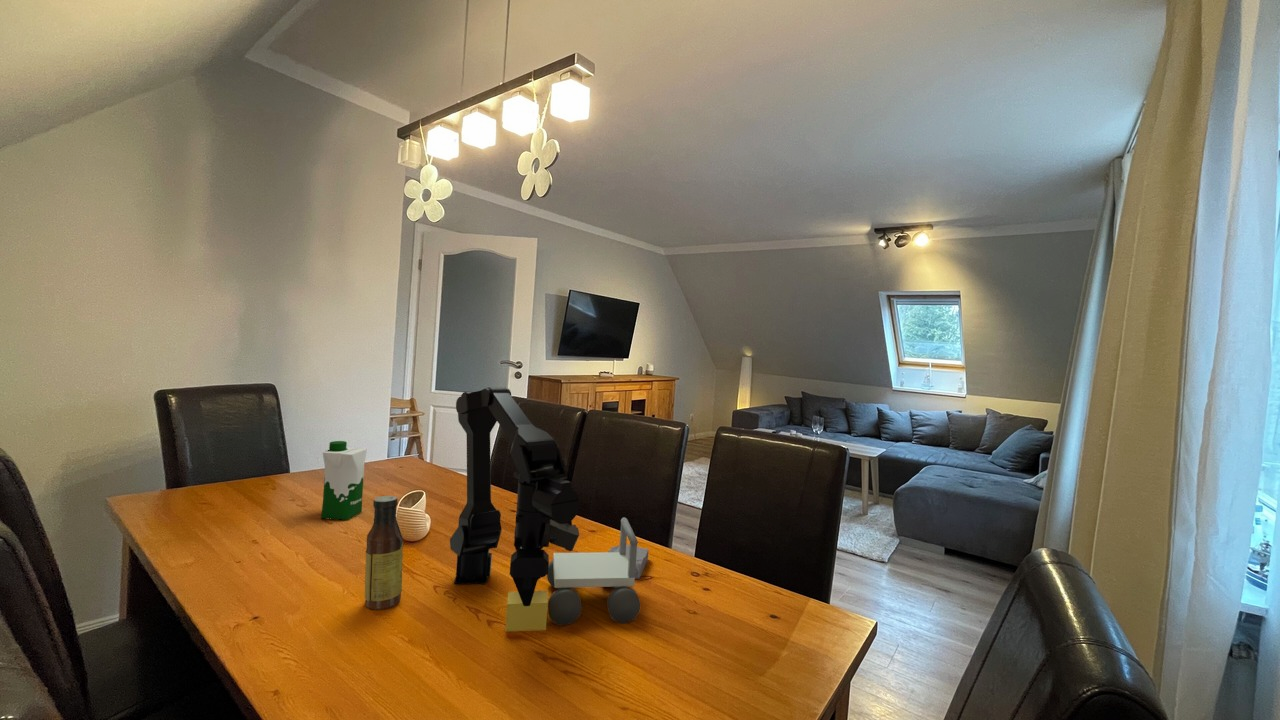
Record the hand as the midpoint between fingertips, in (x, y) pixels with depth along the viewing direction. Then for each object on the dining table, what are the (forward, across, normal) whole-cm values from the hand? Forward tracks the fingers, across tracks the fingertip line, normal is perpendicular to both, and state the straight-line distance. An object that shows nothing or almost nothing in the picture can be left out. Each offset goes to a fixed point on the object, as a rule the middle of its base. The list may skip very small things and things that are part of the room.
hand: (527, 592), depth 93 cm
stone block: (+6, +24, -22) cm, 33 cm away
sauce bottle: (+6, +9, +27) cm, 29 cm away
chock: (+6, 0, 0) cm, 6 cm away
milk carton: (+6, +58, +51) cm, 77 cm away
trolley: (+6, +7, -12) cm, 15 cm away
